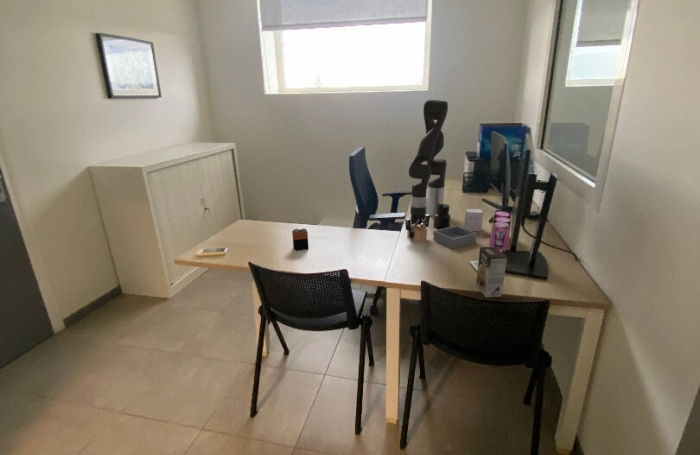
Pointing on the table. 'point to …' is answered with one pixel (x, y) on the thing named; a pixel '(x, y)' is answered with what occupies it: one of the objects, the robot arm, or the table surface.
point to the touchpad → (475, 264)
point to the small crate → (419, 234)
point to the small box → (473, 219)
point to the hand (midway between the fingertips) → (416, 236)
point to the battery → (300, 239)
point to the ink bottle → (442, 216)
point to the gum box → (500, 229)
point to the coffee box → (491, 271)
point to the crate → (454, 236)
